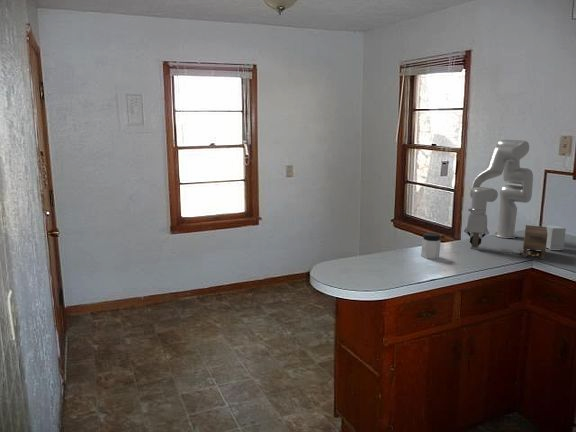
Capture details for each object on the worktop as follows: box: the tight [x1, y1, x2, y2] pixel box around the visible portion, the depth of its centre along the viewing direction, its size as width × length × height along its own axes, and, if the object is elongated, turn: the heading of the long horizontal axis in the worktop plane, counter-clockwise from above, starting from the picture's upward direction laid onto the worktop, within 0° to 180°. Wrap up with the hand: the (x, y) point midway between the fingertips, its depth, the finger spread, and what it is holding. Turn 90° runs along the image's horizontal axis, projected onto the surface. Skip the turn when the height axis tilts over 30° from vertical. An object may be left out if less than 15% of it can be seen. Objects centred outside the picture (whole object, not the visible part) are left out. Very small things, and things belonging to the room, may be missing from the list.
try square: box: [470, 233, 521, 255], centre depth 264 cm, size 5×24×10 cm, turn 64°
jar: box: [420, 231, 441, 260], centre depth 250 cm, size 9×8×12 cm
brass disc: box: [527, 251, 540, 257], centre depth 257 cm, size 5×5×2 cm
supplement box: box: [545, 225, 567, 251], centre depth 269 cm, size 7×7×13 cm
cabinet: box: [522, 224, 548, 260], centre depth 258 cm, size 19×10×14 cm, turn 154°
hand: (475, 244), depth 269 cm, fingers closed on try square, 3 cm apart
